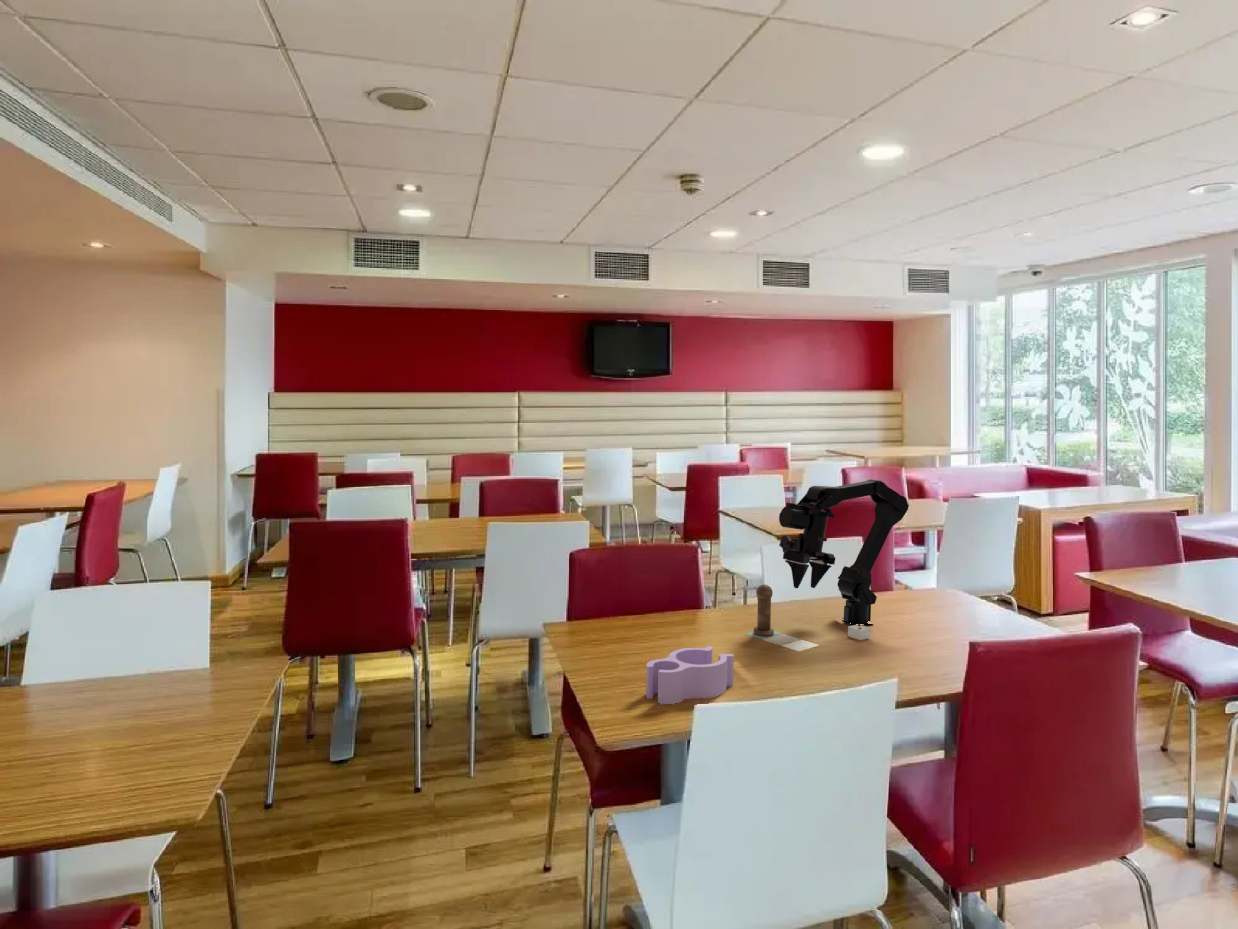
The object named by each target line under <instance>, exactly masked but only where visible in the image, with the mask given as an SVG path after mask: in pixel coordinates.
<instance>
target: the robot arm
mask: <svg viewBox="0 0 1238 929" xmlns="http://www.w3.org/2000/svg"><path fill="white" fill-rule="evenodd" d="M868 496H869V497H870V500H871V502H874V504H875V506H874V518H875V519H874V522H873V524H872V526H871V528H870V530H869V532H868V534H867V537H866V538H865V540H864V542H863V544H862V546H861V549H860V550H859V553H858V555H857V557H856V558H855V561H854V563H853V564H852V565H850V566H846V565H844V566H843V568H842V570H841V573H840V574H839V576H838V577H837V579H838V581H837V586H838V588H837V589H838V591H839V592H840V594H841V597H842V599H844V600H845V605H844V606H843V617H842V619H844V620H845V621H847V622H849V623H851V624H853V625H856V624H868V623H867V622H868V621H871V619H872V618H871V616H872V615H871V614H872V613H871V612H872V605H875V604H876V601H877V598H878V597H877V596H876V593H874V591H872V590H871V585H872V569H873V567H874V565H875V564H876V561H877V559H878V557H879V556H880V553H881V551H882V548H883V547H884V545H885V543H886V540H887V538H888V536H889V534H890V532H891V530H892V528H893V527H894V526H895V525H897V524H898V523H899V522H901V521H902V520H903V518H904V516H905V515H906V513H907V512H908V510H909V507H910V505H909V502H908V500H907V497H905V496H904V495H900V493H899V492H898V491H896V490H894V489H892V488H891V487H889V486H888V485H887V484H886V483H885V482H883V481H882V480H880V479H879V480H878V479H873V478H872V479H868V480H865V481H859V482H855V483H854V482H853V483H848V484H843V485H842V484H841V485H837V486H829V485H828V486H826V485H812V486H810V487H809V488H808V489H807V491H806V493H805V495H804V496H803V497H802V498H801V499H800V500H799V501H798V502H797V504H796V503H793V502H789V501H787V502H785V506H784V507H783V508H782V509H781V511H780V512H779V514H778V515H779V516H778V521H779V524H780V526H781V527H783V528H787V529H795V530H802V531H803V532H799V534H798V538H791V536H789V535H784V536H781V538H780V542H779V544H778V545H779V547H780V548H781V549H782V553H783V554H782V555H783V556H782V559H783V560H784V561H785V563H787V564H788V566H789V567H790V570H791V575H792V583H793V588H794V589H798V588H800V585H801V583H802V581H803V579H804V577H805V575H806V573H807V571H808V568H809V566H810V567H811V574H810V588H812V589H815V588H816V587H817V585H818V584H819V582H821V580H822V579H823V577H824V576H825V574H827V573H828V571H829V569H830V568H832V565H835V562H836V557H835V555H834V554H833V553H829V552H826V551H825V552H824V551H823V547H824V542H827V541H828V537H825V535H826V530H827V529H826V528H827V523H828V518H830V519H835V518H836V516H835V514H834V513H833V512H832V510H831V508H833V507H836V506H838V505H839V504H840V503H842V502H844V501H848V500H854V499H859V498H864V497H868ZM842 619H841V620H842ZM845 621H844V622H845ZM847 622H846V623H847ZM871 622H872V621H871ZM849 623H848V624H849ZM851 624H850V625H851ZM853 625H852V626H853Z"/></svg>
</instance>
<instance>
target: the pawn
mask: <svg viewBox="0 0 1238 929" xmlns="http://www.w3.org/2000/svg"><path fill="white" fill-rule="evenodd" d="M755 594H756V597H757V617H756V618H757V626H754V627H753V632H754V634H755V635H757V636H762V637H768V638H770V637H769V636H772V637H774V636H773V635H774V631H775V629H774V628H773V627H771V620H772V618H771V614H772V613H771V611H772V604H771V603H772V597H773V589H772V588H771V586H769V585H768V584H761V585H759V586H758V587H757V589H756V592H755Z"/></svg>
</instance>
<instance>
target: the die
mask: <svg viewBox="0 0 1238 929" xmlns="http://www.w3.org/2000/svg"><path fill="white" fill-rule="evenodd" d="M871 635H872V628H871V627H869V626H867V625H860V624H858V625H849V626H847V636H848V637H850V638H852V639H855V640H858V641H863V640H867V639H868V640H871V638H872V637H871Z"/></svg>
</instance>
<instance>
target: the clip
mask: <svg viewBox="0 0 1238 929" xmlns="http://www.w3.org/2000/svg"><path fill="white" fill-rule="evenodd" d="M713 649H714V648H713V646H710V645H707V646H706V647H684V648H679V649H675V650H673V651H671V652H670V653H669V655H668V656H666V657H665V658H664V657H663V658H657V659H652V660H649V661H648V662H647V663H646V666H645V667H646V668H645V669H646V672H645V673H646V682H645V684H646V686H645V687H646V688H645V692H646V693H645V695H646V696H645V697H647V698H646V699H653V698H654V696H655V693H656V694H657V704H658V703H660V704H659V705H663V704H672V705H676V704H675V703H678V702H681V701H683V700H684V699H687V700H689V699H690V698H691V699H699V698H703V699H713V698H717V697H720V696H722V695H724V694H725V693H726V692H727V687H734V661H735V660H734V654H733V653H720V654H718V661H716V662H714V663H713V654H714V653H713V651H714V650H713ZM723 693H724V694H723ZM721 694H722V695H721ZM719 695H720V696H719ZM716 696H717V697H716ZM709 697H711V698H709ZM684 701H685V700H684ZM684 701H683V702H684ZM681 703H682V702H681ZM678 704H679V703H678Z"/></svg>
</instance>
